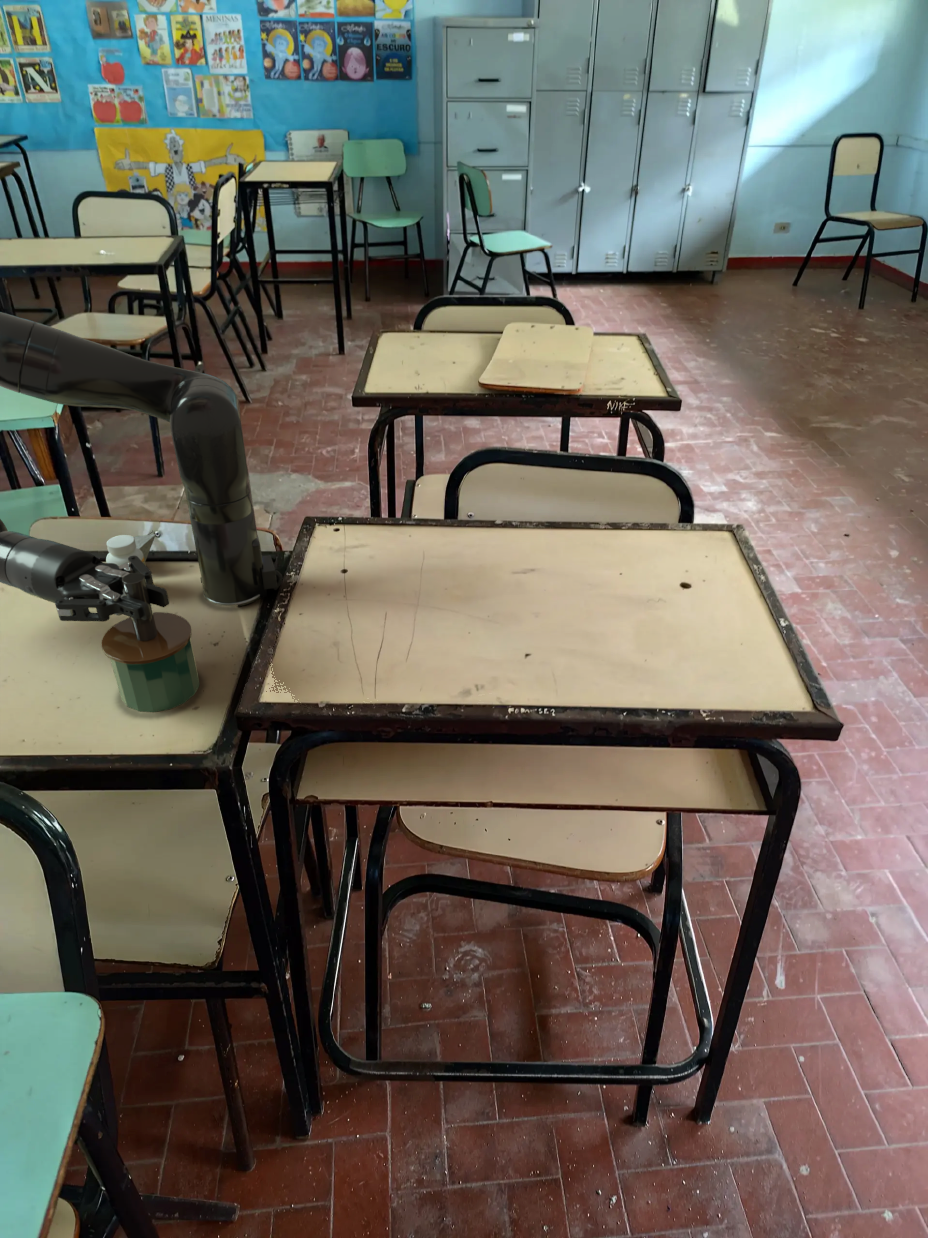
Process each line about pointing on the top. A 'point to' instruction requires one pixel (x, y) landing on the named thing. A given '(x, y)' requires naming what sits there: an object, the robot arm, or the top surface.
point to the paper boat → (144, 543)
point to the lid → (145, 630)
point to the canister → (158, 681)
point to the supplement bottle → (122, 550)
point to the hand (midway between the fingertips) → (156, 605)
